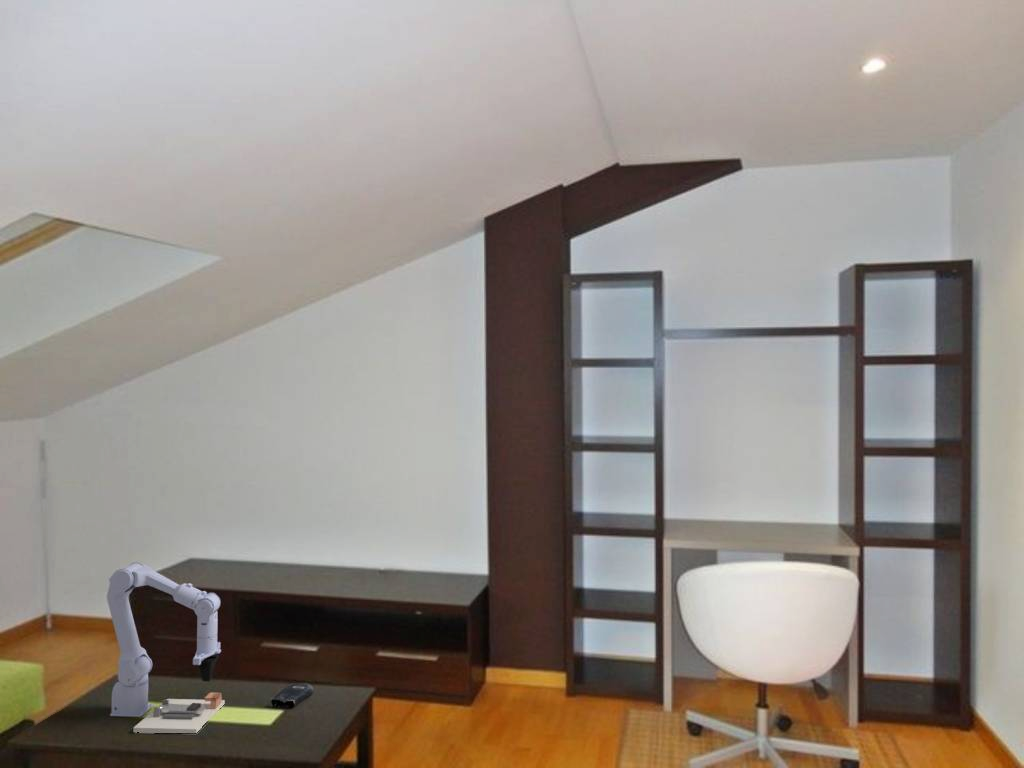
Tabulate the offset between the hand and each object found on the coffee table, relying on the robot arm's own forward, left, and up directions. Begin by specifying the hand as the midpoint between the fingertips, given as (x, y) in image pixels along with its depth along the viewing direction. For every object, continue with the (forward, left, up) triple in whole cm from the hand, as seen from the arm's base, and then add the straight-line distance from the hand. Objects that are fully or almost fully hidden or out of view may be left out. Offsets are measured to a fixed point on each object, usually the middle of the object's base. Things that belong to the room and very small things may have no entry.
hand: (206, 680), depth 229 cm
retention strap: (-5, -5, -7) cm, 10 cm away
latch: (+2, +1, -8) cm, 8 cm away
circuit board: (-6, -5, -10) cm, 12 cm away
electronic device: (+23, +11, -10) cm, 28 cm away
